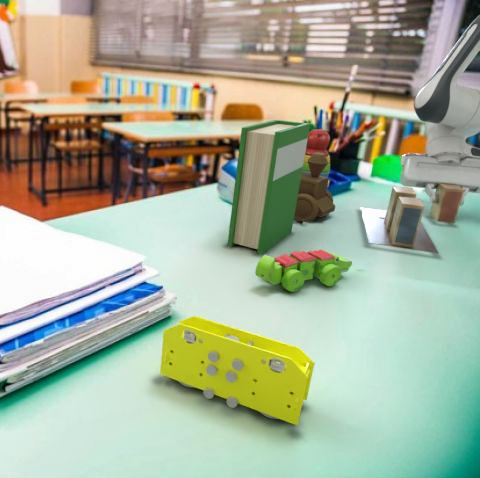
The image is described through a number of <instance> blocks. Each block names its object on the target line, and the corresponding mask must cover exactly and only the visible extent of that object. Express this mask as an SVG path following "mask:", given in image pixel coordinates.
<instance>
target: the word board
mask: <svg viewBox="0 0 480 478" xmlns="http://www.w3.org/2000/svg"><path fill="white" fill-rule="evenodd" d="M360 212H361V215H362V221H363V224H364V228H365V233H366V237H367V241H368V242H367V243H368V244H373V245H374V244H375V245H381V246H387V247H393V248H400V249H407V250H413V251H421V252H427V253H432V254H433V253H434V254H439V251H438V249H437V247H436V246H435V244H434V242H433V240H432V238H431V237H430V235H429V233H428V232H427V230H426V228H425V226H424V225H423V223H422V220H421V221H420V225H419V229H418V232H417V236H416V240H415V243H414V247H413V248H412V247H405V246H398V245H392V243H391V240H390V237H389V233H390V230H387V229H386V226H385V223H384V221H385V217H386V212H387V210H386V209H385V210H384V209H376V208H369V207H360Z"/></svg>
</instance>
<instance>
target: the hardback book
mask: <svg viewBox="0 0 480 478" xmlns="http://www.w3.org/2000/svg"><path fill="white" fill-rule="evenodd" d="M310 126H311V123H309V122H300V121H293V120H291V121H290V120H283V119H282V120H281V119H273V120H269V121H264V122H260V123H256V124H251V125H246V126H243V127H241V131H240V140H239V147H238V154H237V155H238V156H237V164H236V171H235V180H234V189H233V194H232V202H231V203H232V204H231V212H230V221H229V227H228V228H229V229H228V235H227V236H228V237H227V242H226V243H227V244H226V246H227V247H231V248H232V247H234V245H239V246H244V247H247V248H251V249H255V250H257V252H256V255H261V256H263V255H265V253H267V251H269V250H270V249H272V248H273V247H274V246H276V245H277V244H278V243H279V242H281V241H282V240H283V239H285V238H286V237H287V236H289V235H290V234H291V233H292V232H293V227H294V220H295V219H294V215H295V209H296V203H297V198H298V192H299V186H300V180H301V174H302V169H303V163H304V157H305V151H306V145H307V140H308V134H309V132H310V128H311V127H310Z"/></svg>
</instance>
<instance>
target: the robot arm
mask: <svg viewBox="0 0 480 478" xmlns="http://www.w3.org/2000/svg"><path fill="white" fill-rule="evenodd" d="M479 52H480V14H479V15H477V16H476V18H474V20H473V21H472V22H471V23H470V24H469V26H467V28H466V29H465V31H464V32H463V33H462V34H461V36H460V38H459V39H458V41H457V42H456V43H455V44H454V46H453V47H452V48H451V50H450V52H449V53H448V54H447V55H446V57H445V59H444V60H443V61H442V63H441V64H440V66H439V67H437V69H436V71H435V72H434V73H433V75H432V76H431V77H430V78H429V79H428V80H427V82H426V83H424V85H423V86H422V87H421V89H419V91H418V93H417V94H416V96H415V97H414V101H413V109H414V112H415V114H416V116H417V118H418V119H419V120H420V122H424V136H425V140H426V143H425V147H424V153H414V152H407V153H406V154H405V153H404V154H402V156H401V157H400V166H401V167H402V168H401V171H400V177H399V182H400V184H401V186H402V187H408V188H421V189H424V192H425V194H426V196H428V197H429V203H430V204H432V203H438V201H439V194H435V192H436V191H435V190H436V188H437V184H439V183H441V184H452V185H458V186H460V187H461V188H462V189H464V193H463V196H462V200H461V203H460V206H459V207H462V206H463V205H464V204H465V197H466V196H467V194H469V193H471V194H480V148H479V147H476V146H473V145H471V144H469V143H467V142H466V140H467V139H468V138H471V137H472V138H473V137H474V136H476V135H478V134H480V89H478V88H472V87H469V86H465V85H461V84H458V83H457V82H458V80H459V79H460V77H461V76H462V75H463V73H464V72H465V70H466V69H467V68H468V66H469V65H470V64H471V62H472V61H473V60H474V58H475V57H476V56H477V55H478V53H479Z"/></svg>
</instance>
